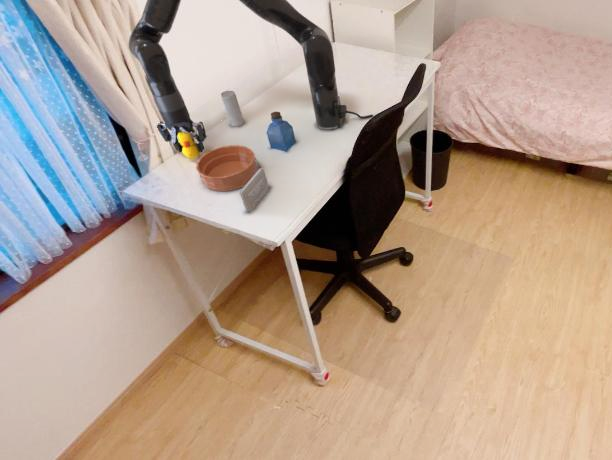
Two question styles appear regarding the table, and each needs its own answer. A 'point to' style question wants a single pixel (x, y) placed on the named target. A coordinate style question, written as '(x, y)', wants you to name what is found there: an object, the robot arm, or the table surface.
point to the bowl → (227, 167)
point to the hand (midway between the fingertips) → (191, 151)
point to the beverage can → (232, 108)
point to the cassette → (254, 190)
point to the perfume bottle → (280, 133)
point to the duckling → (188, 145)
